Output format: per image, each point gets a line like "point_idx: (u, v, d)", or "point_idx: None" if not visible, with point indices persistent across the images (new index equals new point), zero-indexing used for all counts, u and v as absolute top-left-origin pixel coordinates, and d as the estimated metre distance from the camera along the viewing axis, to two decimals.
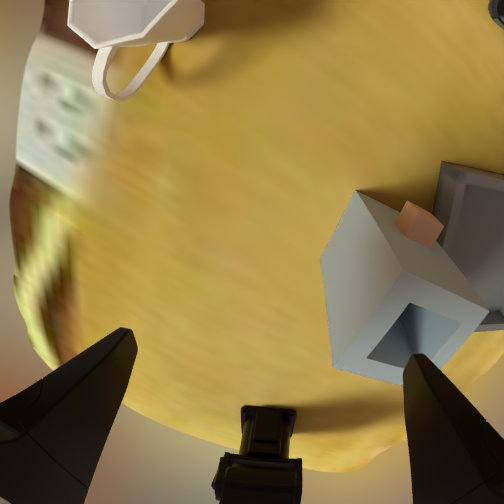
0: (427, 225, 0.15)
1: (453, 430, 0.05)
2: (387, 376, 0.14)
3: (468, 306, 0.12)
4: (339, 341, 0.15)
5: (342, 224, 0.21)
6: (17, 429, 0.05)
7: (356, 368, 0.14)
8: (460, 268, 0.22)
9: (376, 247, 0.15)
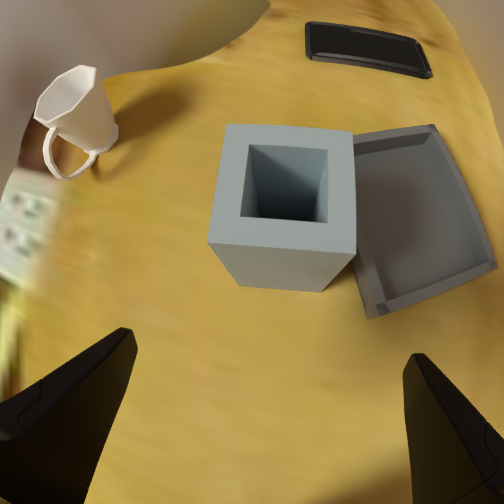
0: None
1: (453, 430, 0.05)
2: (286, 238, 0.12)
3: (319, 132, 0.14)
4: None
5: None
6: (17, 429, 0.05)
7: (237, 236, 0.13)
8: (391, 237, 0.23)
9: None
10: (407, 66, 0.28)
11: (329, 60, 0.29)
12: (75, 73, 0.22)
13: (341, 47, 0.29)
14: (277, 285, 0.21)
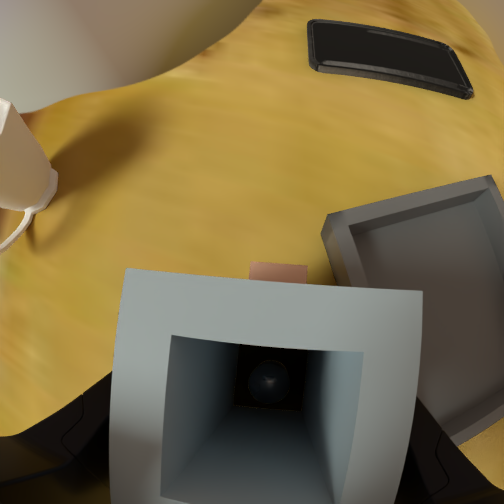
0: (276, 275, 0.11)
1: None
2: None
3: (347, 300, 0.06)
4: None
5: None
6: (63, 453, 0.04)
7: None
8: (427, 354, 0.14)
9: None
10: (444, 81, 0.20)
11: (342, 71, 0.21)
12: None
13: (357, 54, 0.21)
14: None
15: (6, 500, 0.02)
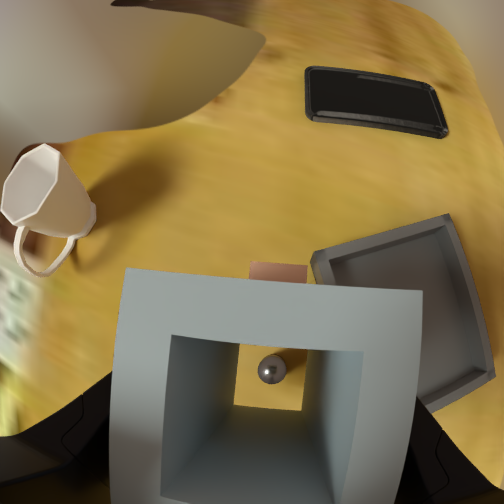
0: (276, 275, 0.11)
1: None
2: None
3: (347, 300, 0.06)
4: None
5: None
6: (62, 453, 0.04)
7: None
8: None
9: None
10: (421, 124, 0.26)
11: (332, 121, 0.27)
12: (40, 153, 0.20)
13: (346, 102, 0.27)
14: None
15: (6, 500, 0.02)
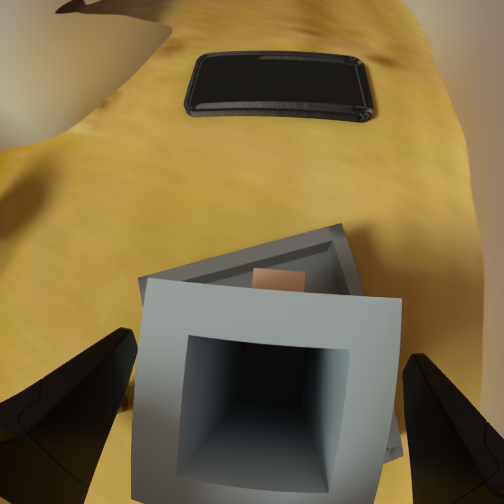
0: (277, 281, 0.12)
1: (453, 430, 0.05)
2: None
3: (336, 306, 0.07)
4: None
5: None
6: (17, 429, 0.05)
7: (175, 500, 0.06)
8: None
9: None
10: (334, 105, 0.22)
11: (213, 114, 0.23)
12: None
13: (235, 89, 0.23)
14: None
15: None
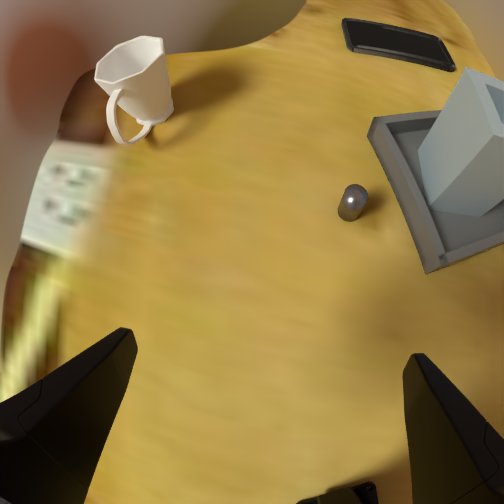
0: None
1: (453, 430, 0.05)
2: None
3: None
4: (482, 132, 0.14)
5: (425, 167, 0.23)
6: (17, 429, 0.05)
7: None
8: None
9: (451, 103, 0.17)
10: (435, 60, 0.29)
11: (369, 52, 0.30)
12: (136, 43, 0.23)
13: (377, 41, 0.30)
14: (462, 205, 0.21)
15: None
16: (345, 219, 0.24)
